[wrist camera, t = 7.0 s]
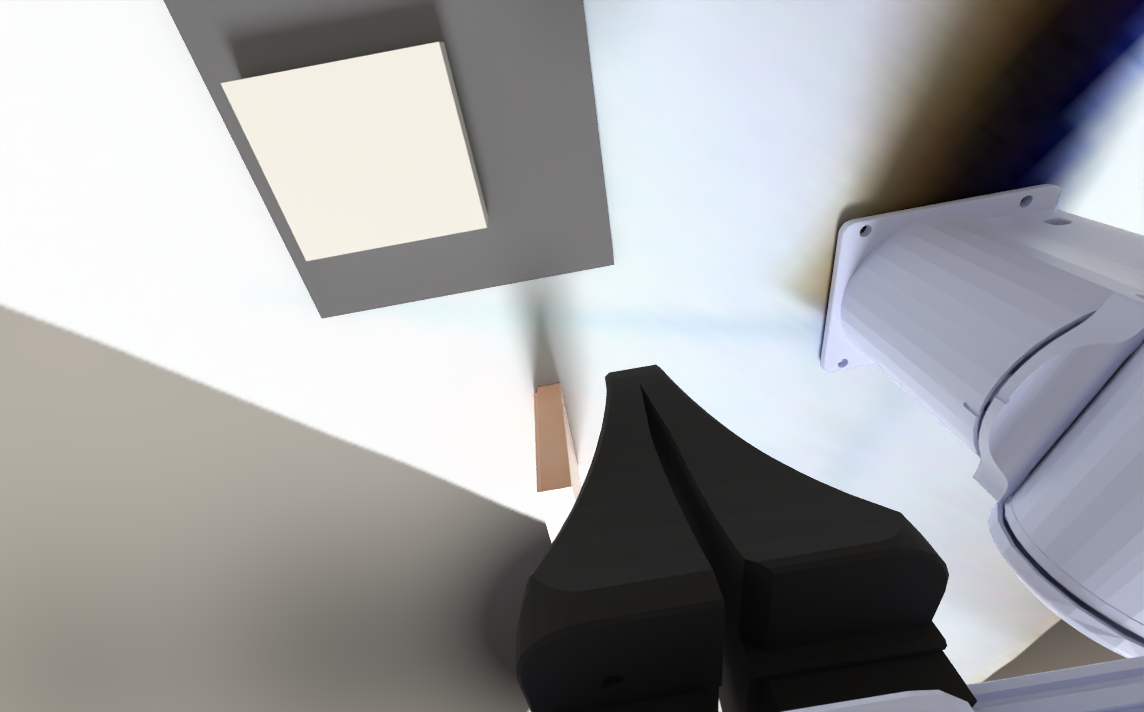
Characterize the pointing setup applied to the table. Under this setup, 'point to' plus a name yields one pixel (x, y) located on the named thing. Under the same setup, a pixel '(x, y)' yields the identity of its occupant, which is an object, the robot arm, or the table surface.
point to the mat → (492, 119)
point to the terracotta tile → (554, 458)
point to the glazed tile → (364, 150)
